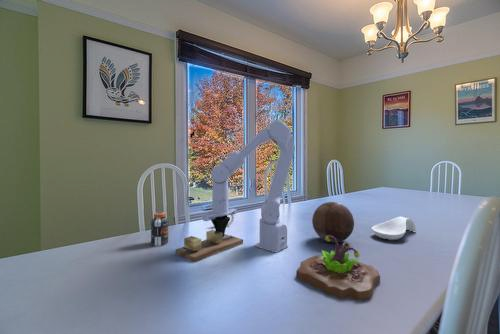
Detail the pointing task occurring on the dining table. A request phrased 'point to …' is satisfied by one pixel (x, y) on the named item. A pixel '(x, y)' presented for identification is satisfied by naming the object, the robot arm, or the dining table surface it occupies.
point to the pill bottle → (159, 229)
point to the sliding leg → (214, 236)
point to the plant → (339, 273)
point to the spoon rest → (394, 228)
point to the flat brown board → (206, 247)
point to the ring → (231, 220)
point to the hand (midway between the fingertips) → (220, 237)
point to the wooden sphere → (333, 221)
